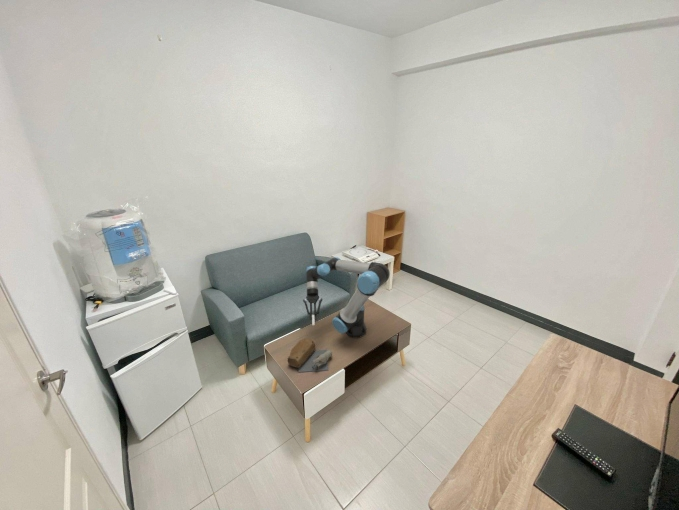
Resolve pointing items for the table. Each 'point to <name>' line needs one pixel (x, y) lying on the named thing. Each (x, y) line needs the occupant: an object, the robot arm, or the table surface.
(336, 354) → the table surface
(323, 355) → the decorative bird
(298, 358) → the block
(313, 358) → the mat
